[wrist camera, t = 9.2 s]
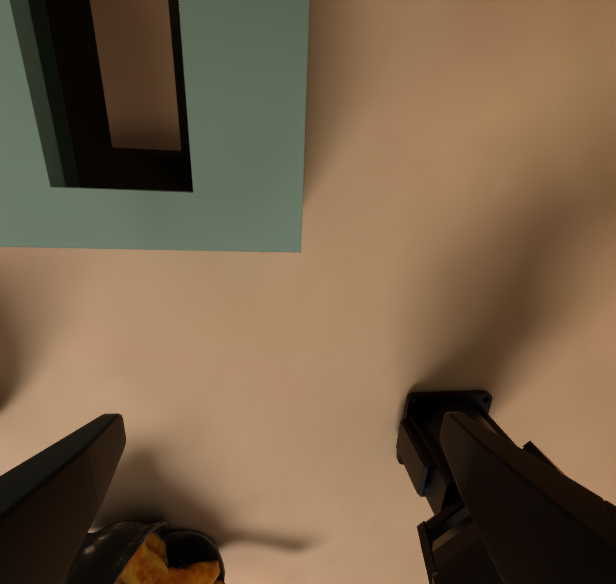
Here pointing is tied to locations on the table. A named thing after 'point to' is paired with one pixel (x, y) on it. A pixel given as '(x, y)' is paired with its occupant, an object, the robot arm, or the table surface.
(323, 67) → the table surface
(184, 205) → the box
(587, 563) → the robot arm
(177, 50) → the rectangular block
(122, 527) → the fried shrimp in bowl
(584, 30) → the table surface
